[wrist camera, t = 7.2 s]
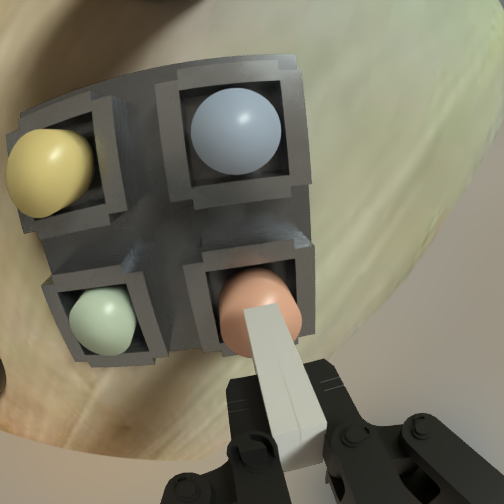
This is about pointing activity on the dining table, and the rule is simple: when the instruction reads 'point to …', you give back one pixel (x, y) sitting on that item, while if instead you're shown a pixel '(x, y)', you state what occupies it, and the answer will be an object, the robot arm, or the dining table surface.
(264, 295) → the terracotta button
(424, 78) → the dining table surface
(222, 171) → the slate button
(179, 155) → the button panel
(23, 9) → the dining table surface
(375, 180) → the dining table surface
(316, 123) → the dining table surface
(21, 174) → the mustard button
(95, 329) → the sage button
